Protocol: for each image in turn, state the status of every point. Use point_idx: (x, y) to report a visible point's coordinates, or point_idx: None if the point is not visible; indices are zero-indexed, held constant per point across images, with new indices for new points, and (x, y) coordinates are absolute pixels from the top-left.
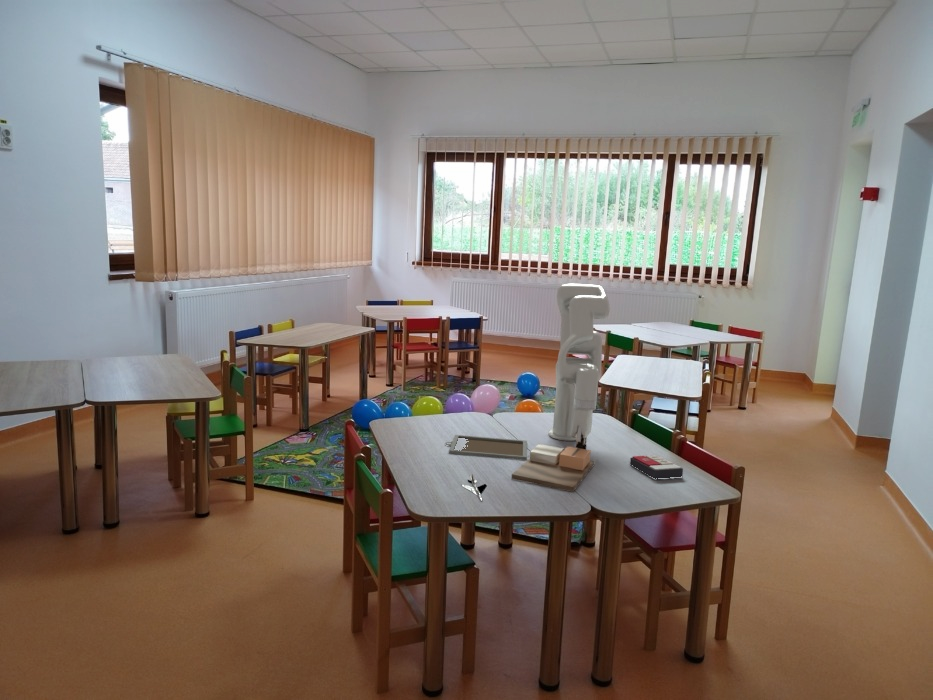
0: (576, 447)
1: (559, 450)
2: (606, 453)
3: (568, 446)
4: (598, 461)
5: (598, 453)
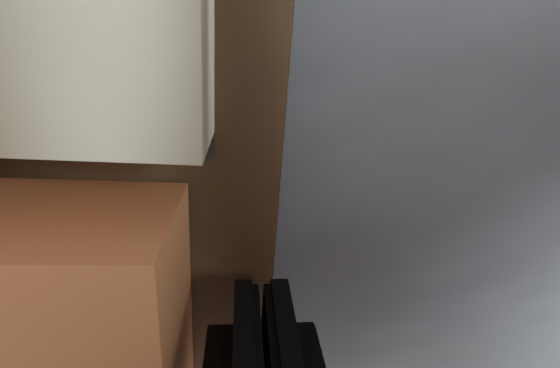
0: (234, 354)
1: (36, 121)
2: (556, 362)
3: (145, 277)
4: (359, 360)
5: (544, 324)
